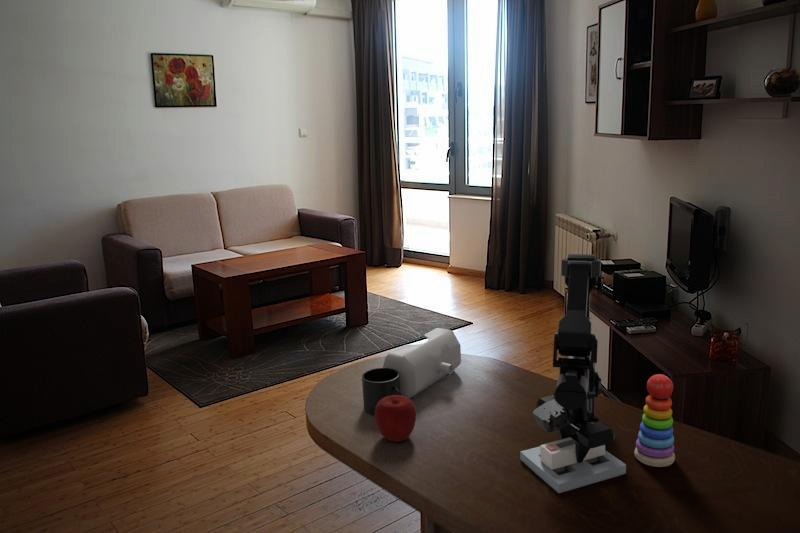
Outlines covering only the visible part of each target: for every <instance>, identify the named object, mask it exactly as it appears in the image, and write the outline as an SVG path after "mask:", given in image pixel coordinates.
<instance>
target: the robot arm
mask: <svg viewBox="0 0 800 533" xmlns="http://www.w3.org/2000/svg"><path fill="white" fill-rule="evenodd" d="M601 264H602V260H601V259H598V258H596V254H592V253H591V254H589V253H588V254H586V253H584V254H583V253H582V254H580V253H579V254H578V253H568V254H567V258H562V259H561V266H560V267H561V268H560V270H561V271H560V272H561V277H564V283H565V285H566V287H567V298H566V309H565V310H566V311H565V314H564V316H563V317H561V319H560V320H559V322H558V330H557V331H555V332H554V338H553V353H552V354H553V355H552V356H553V357H552V368H559V370H558V371H559V376H558V377H557V383H556V386H555V390H554V392H553V394H551V395H547V396H544V397H540V398H539V399H538V400H537V402H536V408H535V409H533V411H532V413H533V416H534V419H535V422H536V425H537V426H538V427H539V428H541V429H543V430H544V432H546V433H552V432H554V431H555V430H556V432H557V434H558V437H559V440H562V439H565V438H569V437H570V438H572V439H573V440H574V441H575V450H576V459H577V462H578V463H581V462H583V460H584V458H585V457H586V455H587V453H588V451H589V450H590V448H596V447H599V446H603V445H605V446H606V445H609V444H613V443H614V442H615V434H616V432H615V431H614V430H613V429H612V428H610V427H609V426H608V425H606V424H605V423H602V421H597V422H592V421H593V420H597V419H599V415H598V414H596V413H595V398H599V396H600V395H601V394H602V378H601V377H600V375H599V372H598V371H596V364H597V363H598V346H599V345H598V344H599V343H598V342H599V340H598V339H597V337H596V335H595V333H592V322H591V320H590V318H591V317H590V316H591V315H590V313H591V311H590V310H591V293H592V291H593V290H594V288H595V287H596V285H597V283H598V278H600V277H601V269H602V268H601V267H602V265H601ZM558 354H559V355H560V356H562V357H558ZM576 429H577V431H576ZM575 432H576V433H575Z"/></svg>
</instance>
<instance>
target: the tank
mask: <svg viewBox="0 0 800 533" xmlns="http://www.w3.org/2000/svg"><path fill="white" fill-rule="evenodd" d="M423 336H424V338H426V339H427V340H426V341H425V342H422V343H418V344H404V345H402V346H400V347H398V348H396V349H394V350H391V351H390V352H388V353H387V355H386V356H385V358H384V361H383V364H382V365H383V366H382V368H390V369H394V370H396V371H398V372H399V375H400V393H401V395H402V396H406V397H408V398H409V399H411V400H412V398H414V397H416V396H417V395H419V394H420V393H422V392H423V391H424V390H426V389H428V388H430V387H431V386H432V385H434V384H436V383H437V382H439V381H440V380H443V378H445V377H447V376H449V375H452V374H453V372H454V371H455V370H456V369H457V368H459V366H460V365H461V363H462V357H461V356H462V354H461V353H462V352H461V351H462V350H461V343H460V342H459V340H458V338H457V336H456V335H455V332H454V331H453V330H451V329H447V328H441V327H436V328H434V329H432V330H431V331H429V332H426V333H424V335H423Z"/></svg>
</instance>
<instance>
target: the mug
mask: <svg viewBox="0 0 800 533" xmlns="http://www.w3.org/2000/svg"><path fill="white" fill-rule="evenodd" d="M361 382H362V384H361V385H362V399H363V400H362V401H363V409H364V412H366V413H367V414H369V415H371V416H375V407H376V405H377V403H378V402H379V401H380V400H381V399H382V398H384V397H387V396H391V395H401V393H400V375H399V372H398V371H396V370H394V369H390V368H383V367H378V368H371V369H369V370H367V371H365V372H363V373H362V375H361Z"/></svg>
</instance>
